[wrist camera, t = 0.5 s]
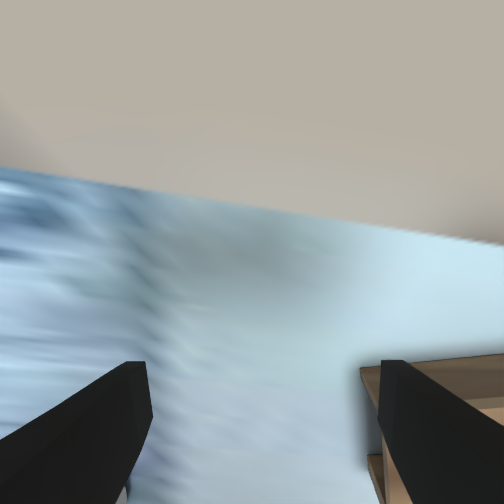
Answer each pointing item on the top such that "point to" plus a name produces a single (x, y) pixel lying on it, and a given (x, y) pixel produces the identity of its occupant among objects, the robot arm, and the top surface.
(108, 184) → the top surface
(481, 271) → the top surface
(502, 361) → the shelf
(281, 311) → the top surface
